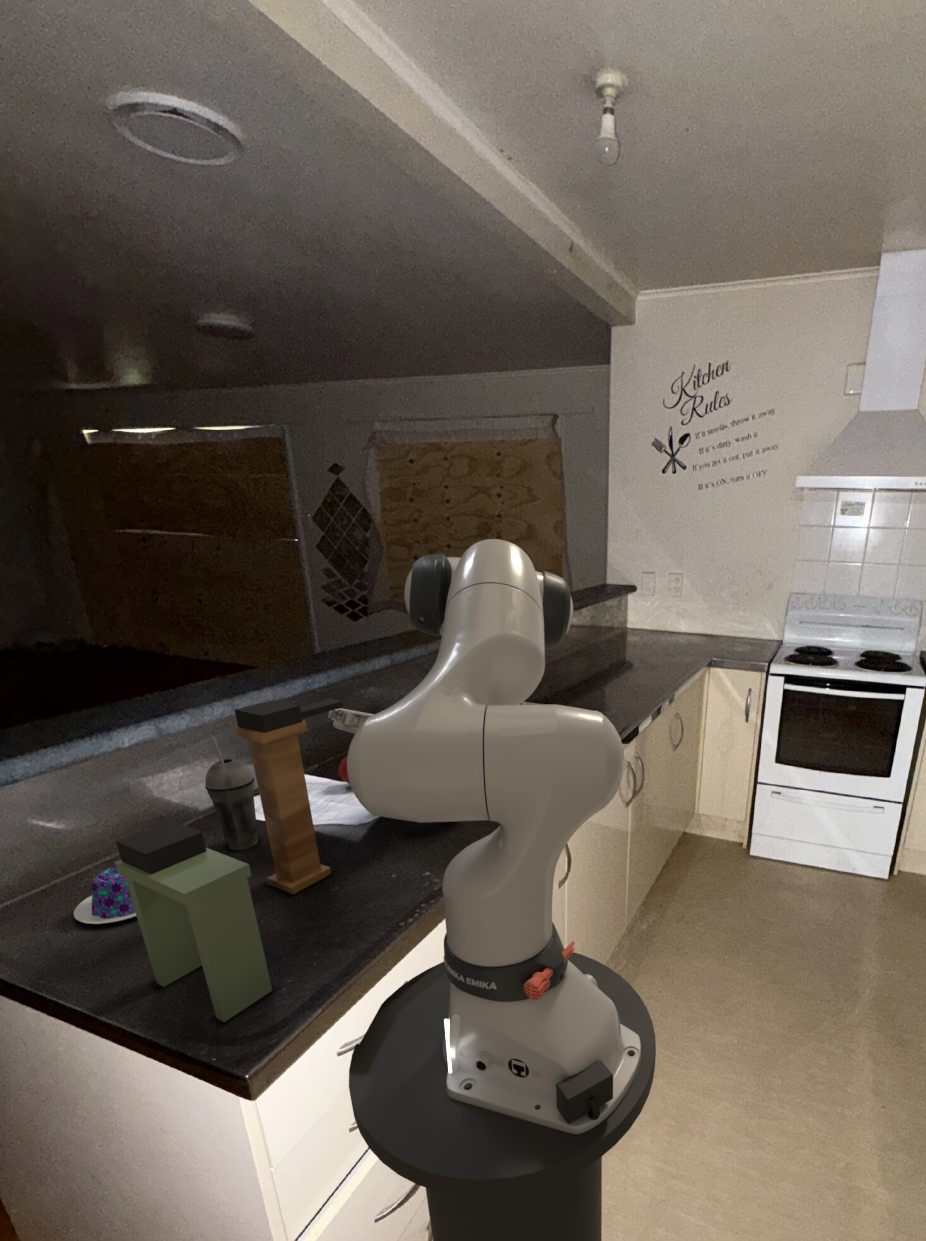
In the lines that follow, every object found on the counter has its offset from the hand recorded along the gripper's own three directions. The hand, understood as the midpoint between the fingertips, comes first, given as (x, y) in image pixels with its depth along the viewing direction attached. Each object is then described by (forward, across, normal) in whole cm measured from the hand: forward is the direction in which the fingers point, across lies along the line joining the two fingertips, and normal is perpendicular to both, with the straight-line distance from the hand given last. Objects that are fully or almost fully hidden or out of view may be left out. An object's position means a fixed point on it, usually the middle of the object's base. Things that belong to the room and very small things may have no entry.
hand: (351, 716), depth 103 cm
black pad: (+10, 0, +3) cm, 10 cm away
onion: (-26, -23, +11) cm, 37 cm away
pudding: (+15, -16, +36) cm, 42 cm away
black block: (+27, +9, +23) cm, 37 cm away
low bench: (+19, +13, +38) cm, 44 cm away
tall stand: (0, 0, +27) cm, 27 cm away
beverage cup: (-2, -19, +26) cm, 32 cm away
